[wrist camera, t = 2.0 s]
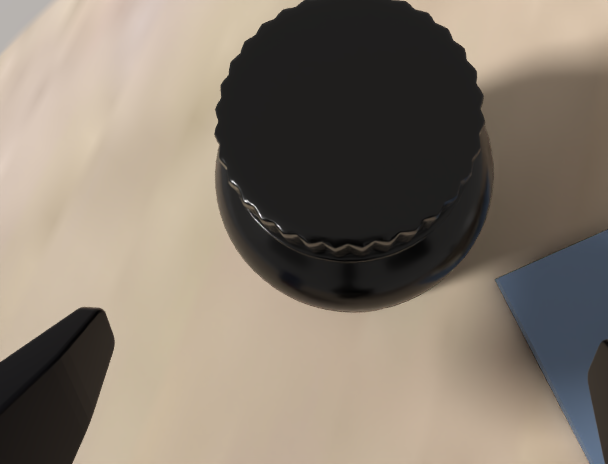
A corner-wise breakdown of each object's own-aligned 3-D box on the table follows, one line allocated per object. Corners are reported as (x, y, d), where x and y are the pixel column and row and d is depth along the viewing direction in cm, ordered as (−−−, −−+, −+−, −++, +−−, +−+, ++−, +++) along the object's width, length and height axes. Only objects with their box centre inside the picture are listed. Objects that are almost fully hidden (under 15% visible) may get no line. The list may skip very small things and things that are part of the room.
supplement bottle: (243, 192, 22) (101, 35, 10) (392, 118, 21) (429, -132, 10) (315, 345, 20) (250, 377, 8) (475, 267, 20) (636, 189, 8)
